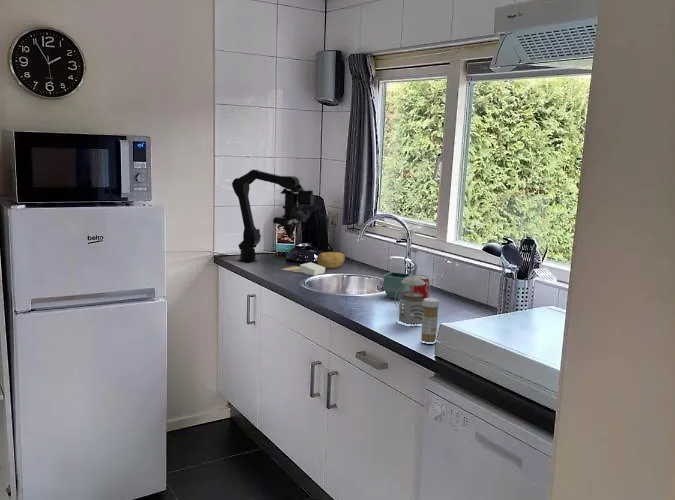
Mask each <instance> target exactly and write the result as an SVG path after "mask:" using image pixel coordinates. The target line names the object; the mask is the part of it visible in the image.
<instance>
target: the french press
mask: <svg viewBox="0 0 675 500" xmlns="http://www.w3.org/2000/svg"><path fill="white" fill-rule="evenodd" d="M412 252H413V253H414V255H416V254H417V253H419V249H418V248H414V247H413V249H412ZM413 262H414V263H413V269H415V264H416V257H414V261H413ZM414 275H415V272H412V276H413V277H410V278H406V279H404V280H402V281H401V283H402V284H403V285H407V286H423V285H425V284H426V283H425V282H424V281H423V280H421V279H419V278H415V277H414ZM401 288H402V287H401ZM399 289H400V288H399ZM399 289H398V291H399ZM404 289H405V291H403V290H404ZM404 289H403V288H402V291H403V293H402V296H403V297H401V298H400V299H399V298H398V299H396V295H397V293H396V295H395V299H394V304H395V307H396V308H397V309H399V310H398V313H399V314H398V319H399V321H401V322H403V323H406V324H411V325H412V324H413V325H415V324H416V325H417V324H422V318H423V306H424V305H423V300H424V299H423V298H421V297H423V294H421V293H416V292H413V287H412V292H410V291H408V292H406V288H404ZM398 291H397V292H398ZM402 291H401V292H402ZM400 294H401V293H400ZM400 294H399V297H400ZM396 300H397V301H396ZM397 304H398V306H397ZM411 306H415V307H413V308H411ZM414 310H415V311H414Z"/></svg>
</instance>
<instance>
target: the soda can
mask: <svg viewBox="0 0 675 500" xmlns="http://www.w3.org/2000/svg"><path fill="white" fill-rule="evenodd" d="M412 277H413V275H412ZM414 277H415V278H419V279H421V280H423V281H424V282H425V283H426V284H425V285H423V286H410V288H409V292H412V287H413V292H416V293H421V294H423V297H421V298H423V299H425V298H430V294H431V293H430V291H431V282H430V279H429V276H428V275H424V274H423V275H422V274H414ZM413 307H415V306H411V308H413ZM423 308H424V307H423Z"/></svg>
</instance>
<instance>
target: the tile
mask: <svg viewBox="0 0 675 500" xmlns="http://www.w3.org/2000/svg"><path fill="white" fill-rule="evenodd" d="M299 267H300V269H299V271H300V272H302V273H301V274H303V273H304V274H305V275H309V276H317V275H321V274H326V273H325V272H326V268H325V267H322V266H320V265H319V264H318V263H314V262H312V261H310V262H305V263H302V264H300V265H299Z"/></svg>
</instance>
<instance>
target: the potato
mask: <svg viewBox="0 0 675 500" xmlns="http://www.w3.org/2000/svg"><path fill="white" fill-rule="evenodd" d="M345 257H346V255H345V254H344V253H342V252H340V251H326V252H320V253H319V254H318V255H317V257H316V262H317V265H320V266H322V267H325V269H327V270H329V269H337V268H339V267H341V265H343V264H344V262H345V260H346V258H345Z"/></svg>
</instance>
